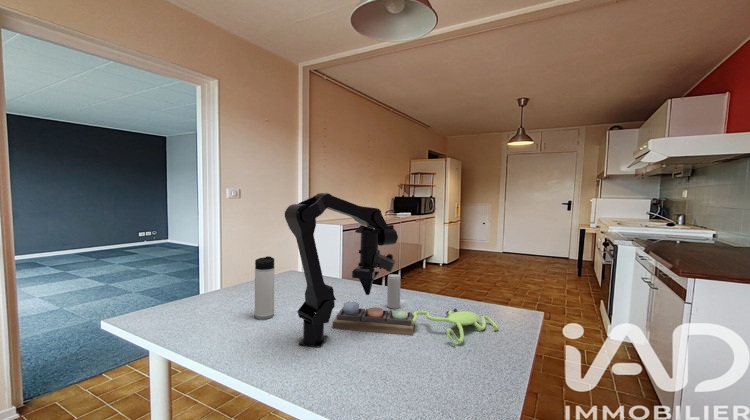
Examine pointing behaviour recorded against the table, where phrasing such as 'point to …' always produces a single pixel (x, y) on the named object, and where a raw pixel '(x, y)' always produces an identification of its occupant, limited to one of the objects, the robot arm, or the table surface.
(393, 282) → the beverage can
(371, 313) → the terracotta button
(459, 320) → the figurine
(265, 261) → the travel mug
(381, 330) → the button panel
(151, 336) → the table surface
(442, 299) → the table surface
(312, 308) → the robot arm
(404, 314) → the sage button
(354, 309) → the blue-grey flat rounded piece
